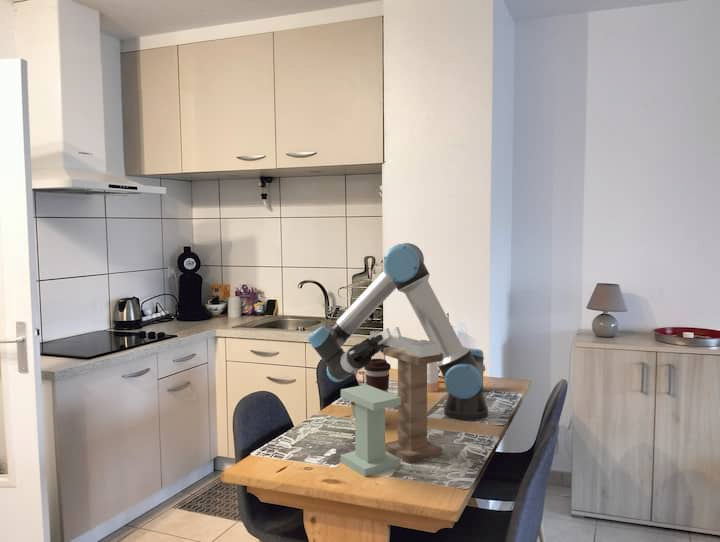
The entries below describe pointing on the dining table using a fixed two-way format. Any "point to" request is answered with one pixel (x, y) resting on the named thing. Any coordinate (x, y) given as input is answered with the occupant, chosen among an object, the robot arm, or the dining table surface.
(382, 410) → the low stand
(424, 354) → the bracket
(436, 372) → the pepper shaker
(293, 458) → the dining table surface
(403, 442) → the tall stand
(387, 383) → the coffee cup
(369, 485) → the dining table surface
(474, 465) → the dining table surface
